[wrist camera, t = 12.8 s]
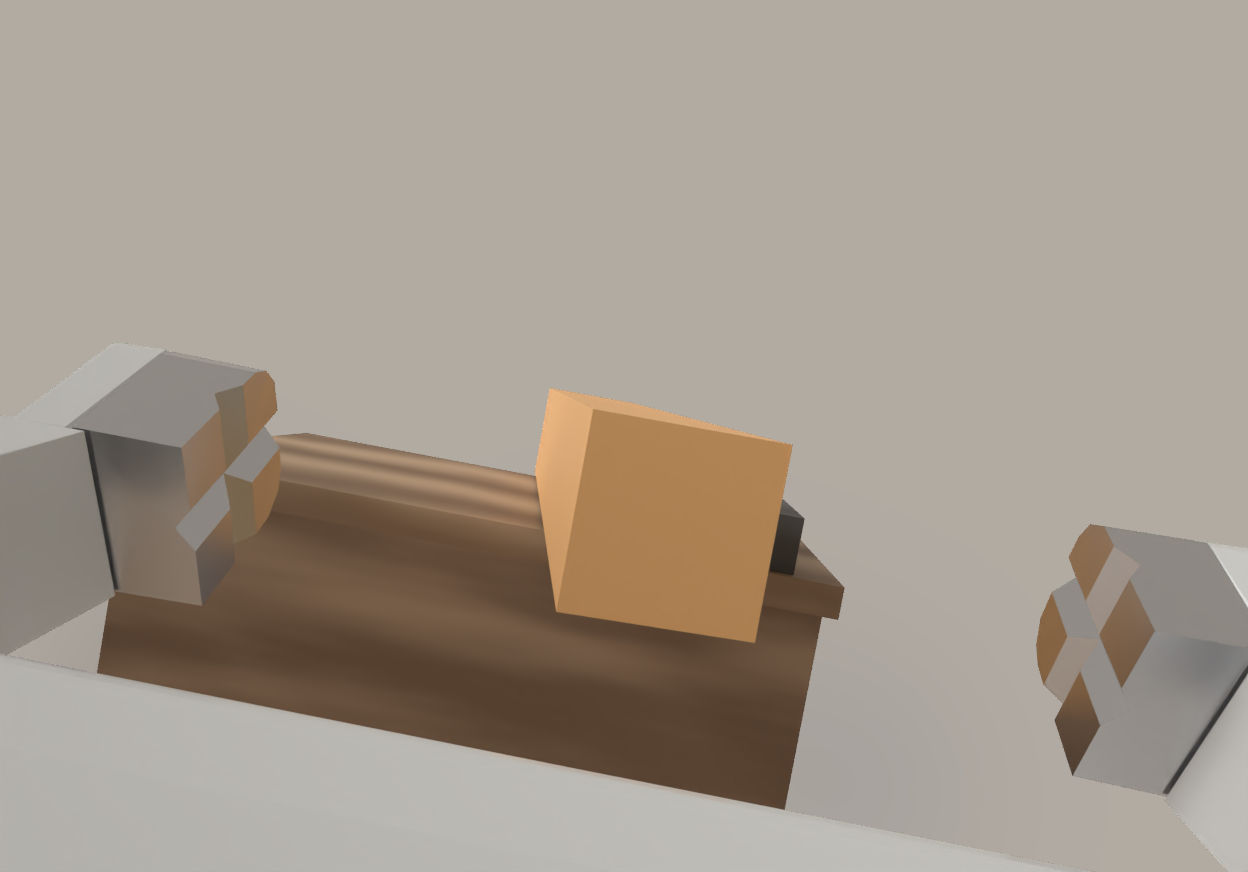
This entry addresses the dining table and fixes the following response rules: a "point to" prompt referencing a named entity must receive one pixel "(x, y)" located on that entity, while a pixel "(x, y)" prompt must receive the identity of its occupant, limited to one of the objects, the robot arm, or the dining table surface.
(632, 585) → the orange block
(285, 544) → the walnut stand
